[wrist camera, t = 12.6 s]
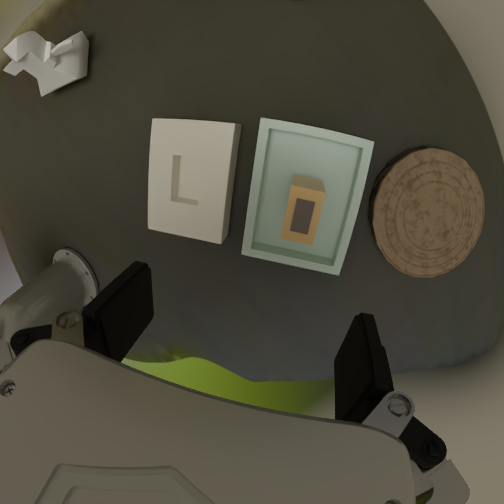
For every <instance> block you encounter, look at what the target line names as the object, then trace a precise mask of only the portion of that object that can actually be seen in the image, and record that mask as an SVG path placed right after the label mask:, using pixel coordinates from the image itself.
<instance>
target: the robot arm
mask: <svg viewBox="0 0 504 504" xmlns="http://www.w3.org/2000/svg"><path fill="white" fill-rule="evenodd" d="M84 306H85V307H84ZM83 307H84V311H83V312H81V309H82V308H83ZM153 315H154V309H153V296H152V280H151V269H150V268H149V267H148V264H146V263H143V262H139V261H135V262H133V263H132V264H131V265H130V266H129V267H128V268H127V269H125V270H124V271H123V272H122V273H121V274H120V275H119V276H118V277H117V278H115V279H114V280H113V281H112V282H111V283H110V284H109V285H108V286H107V287H106V288H104V289H103V290H102V291H101V292H100V293H99V290H98V283H97V280H96V277H95V275H94V273H93V271H92V269H91V267H90V266H89V264H88V263H87V262H86V260H85V259H84V258H83V257H82V256H81V255H80V254H79V253H77V252H76V251H74V250H72V249H70V248H62V249H60V250H58V251H57V252H56V253H55V255H54V258H53V264H52V265H51V266H49V267H48V268H47V269H45V270H44V271H42V272H41V273H40V274H38V275H37V276H36V277H34V278H33V279H31V280H30V281H29V282H28V283H26V284H25V285H24V286H22V287H21V288H20V289H18V290H17V291H16V292H15V293H13V294H12V295H11V296H10V297H8V298H7V299H6V300H5V301H3V303H2V304H1V305H0V504H465V503H466V502H467V500H468V498H469V495H470V492H469V488H468V485H467V484H466V483H465V481H464V479H463V478H462V476H461V475H460V473H459V472H458V470H457V469H456V467H455V466H454V464H453V463H452V461H451V460H450V459H449V460H448V461H447V460H446V458H445V457H446V452H447V449H446V445H445V443H444V441H443V440H442V439H441V438H439V437H438V436H437V435H436V434H434V433H433V432H432V431H431V430H430V429H428V428H427V427H426V426H425V425H424V424H422V423H421V422H420V421H419V420H418V419H416V418H415V417H414V416H413V414H414V412H415V406H414V403H413V401H412V399H411V398H410V397H409V396H408V395H407V394H405V393H403V392H400V391H394V387H393V382H392V377H391V372H390V368H389V364H388V359H387V355H386V351H385V348H384V346H382V345H381V342H380V338H379V334H378V330H377V326H376V322H375V319H374V316H373V315H372V314H366V313H360V314H359V315H356V316H355V317H354V319H353V321H352V324H351V326H350V328H349V330H348V332H347V335H346V337H345V339H344V341H343V343H342V345H341V347H340V349H339V351H338V353H337V355H336V357H335V361H334V375H335V419H327V418H320V417H313V416H307V415H301V414H294V413H289V412H283V411H277V410H272V409H267V408H262V407H258V406H253V405H249V404H245V403H240V402H236V401H232V400H229V399H225V398H221V397H217V396H213V395H210V394H207V393H203V392H200V391H197V390H194V389H190V388H187V387H184V386H181V385H178V384H175V383H172V382H169V381H166V380H164V379H161V378H158V377H155V376H153V375H150V374H147V373H145V372H142V371H140V370H137V369H135V368H131V367H130V366H127V365H125V364H123V363H121V361H122V360H123V358H124V357H125V356H126V354H127V353H128V351H129V350H130V349H131V347H132V346H133V345H134V343H135V342H136V340H137V339H138V338H139V336H140V335H141V334H142V332H143V331H144V330H145V328H146V327H147V326H148V324H149V323H150V322H151V320H152V318H153Z"/></svg>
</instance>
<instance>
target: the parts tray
mask: <svg viewBox="0 0 504 504" xmlns="http://www.w3.org/2000/svg"><path fill="white" fill-rule="evenodd" d="M373 145H374V142H373V141H370V140H366V139H363V138H359V137H355V136H351V135H347V134H343V133H339V132H335V131H331V130H326V129H322V128H317V127H312V126H308V125H302V124H297V123H292V122H286V121H280V120H273V119H267V118H261V120H260V126H259V133H258V140H257V147H256V153H255V160H254V167H253V174H252V181H251V188H250V195H249V202H248V209H247V216H246V223H245V231H244V238H243V245H242V253H241V254H242V255H246V256H251V257H255V258H260V259H265V260H269V261H274V262H278V263H283V264H288V265H292V266H297V267H302V268H306V269H311V270H316V271H320V272H325V273H330V274H334V275H339V273H340V270H341V267H342V264H343V261H344V258H345V255H346V251H347V248H348V245H349V242H350V238H351V235H352V231H353V228H354V224H355V221H356V217H357V213H358V210H359V206H360V202H361V198H362V194H363V190H364V186H365V182H366V177H367V173H368V169H369V164H370V160H371V155H372V150H373ZM295 174H296V175H302V176H306V177H311V178H315V179H318V180H322V181H323V184H324V188H325V192H326V194H325V198H324V202H323V206H322V211H321V215H320V219H319V223H318V227H317V231H316V234H315V238H314V242H313V246H311V245H307V244H303V243H298V242H294V241H289V240H285V239H281V238H280V237H281V232H282V228H283V223H284V218H285V213H286V208H287V203H288V198H289V193H290V188H291V184H292V181H293V178H294V175H295Z"/></svg>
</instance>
